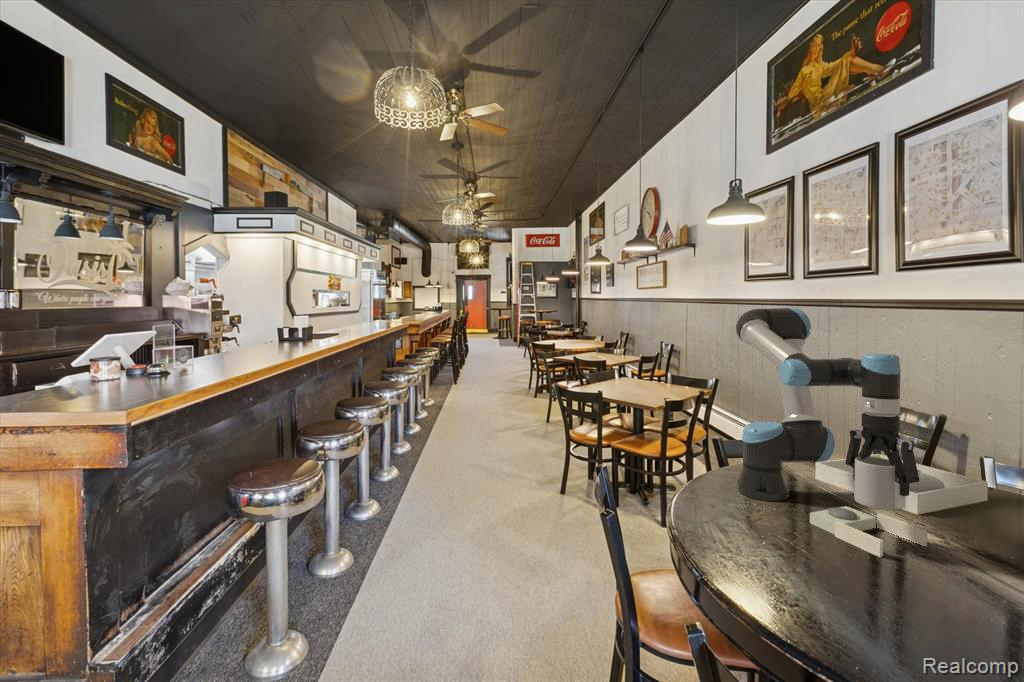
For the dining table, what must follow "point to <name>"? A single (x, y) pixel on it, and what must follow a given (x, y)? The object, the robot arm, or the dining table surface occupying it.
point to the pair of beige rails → (864, 528)
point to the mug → (875, 483)
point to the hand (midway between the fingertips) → (879, 500)
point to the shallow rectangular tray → (953, 495)
